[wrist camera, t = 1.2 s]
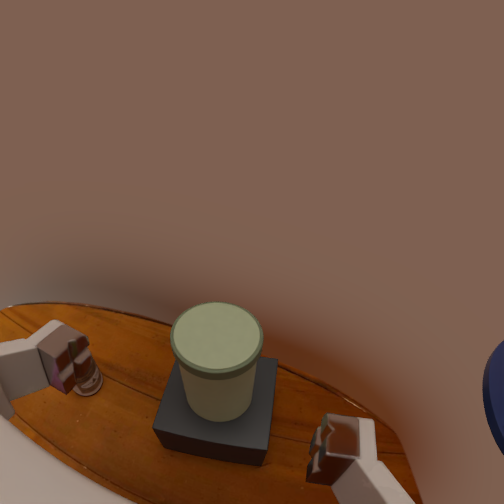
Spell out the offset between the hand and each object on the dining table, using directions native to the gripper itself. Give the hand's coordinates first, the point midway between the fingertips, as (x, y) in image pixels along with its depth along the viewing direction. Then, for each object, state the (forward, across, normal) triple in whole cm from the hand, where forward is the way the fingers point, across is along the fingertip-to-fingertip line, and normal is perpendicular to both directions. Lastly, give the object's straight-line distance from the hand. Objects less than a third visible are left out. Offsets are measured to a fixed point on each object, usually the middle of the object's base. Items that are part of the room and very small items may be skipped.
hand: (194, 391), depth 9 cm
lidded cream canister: (+13, +2, +14) cm, 19 cm away
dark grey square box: (+14, +1, +20) cm, 25 cm away
